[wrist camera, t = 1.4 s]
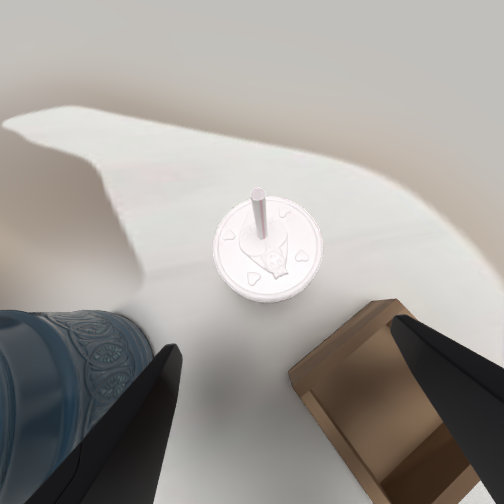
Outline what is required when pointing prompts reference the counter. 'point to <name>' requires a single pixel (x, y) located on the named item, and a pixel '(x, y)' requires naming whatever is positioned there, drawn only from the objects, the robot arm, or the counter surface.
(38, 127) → the counter surface
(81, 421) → the canister
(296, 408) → the counter surface
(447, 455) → the wooden box
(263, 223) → the smoothie
